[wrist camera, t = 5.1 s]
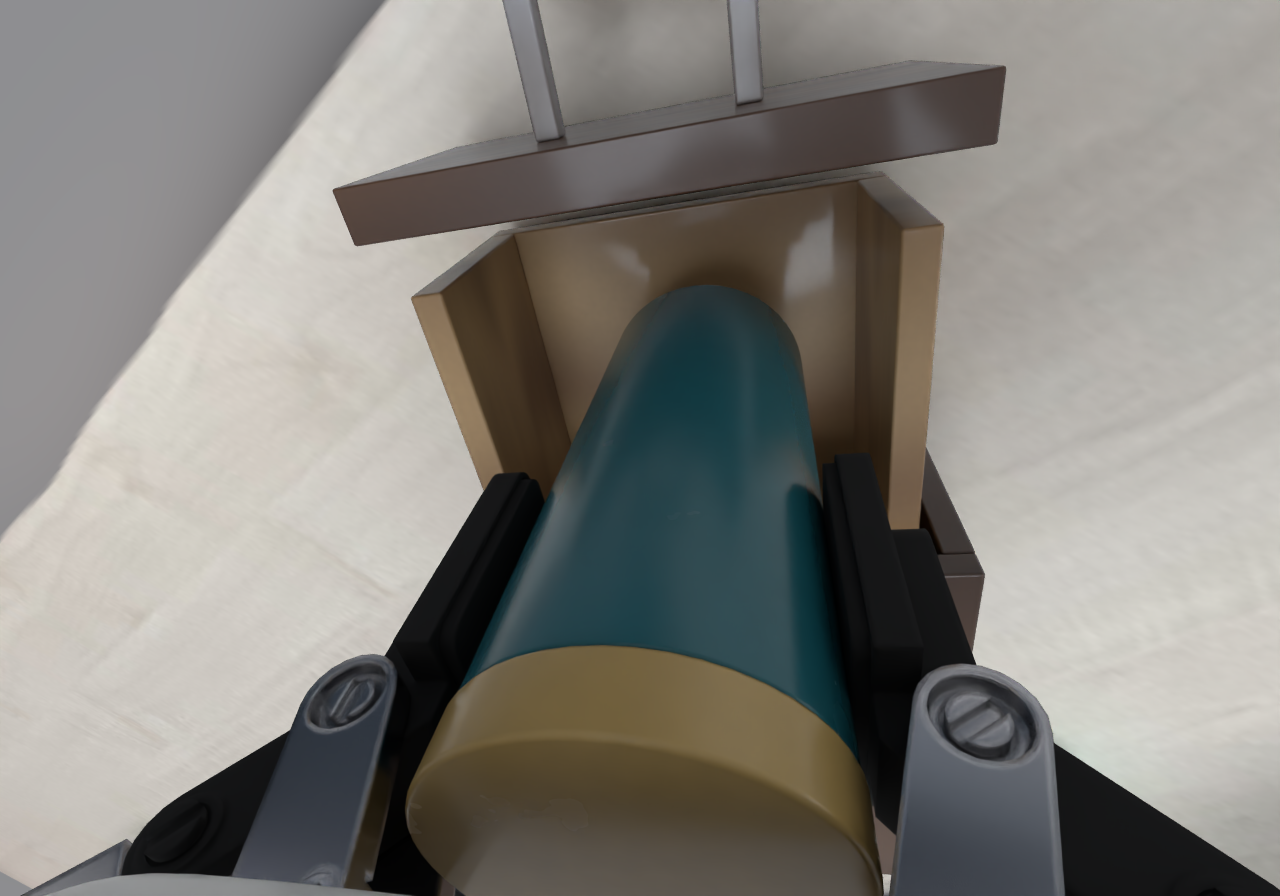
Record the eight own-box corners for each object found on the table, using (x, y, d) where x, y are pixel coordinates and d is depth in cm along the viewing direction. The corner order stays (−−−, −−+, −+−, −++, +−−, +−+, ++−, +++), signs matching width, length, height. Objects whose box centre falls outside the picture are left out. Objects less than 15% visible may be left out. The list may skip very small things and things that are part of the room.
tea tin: (800, 269, 14) (897, 751, 5) (806, 448, 17) (877, 998, 7) (595, 295, 16) (320, 724, 6) (631, 459, 18) (485, 947, 8)
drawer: (404, -26, 16) (226, -66, 11) (922, -161, 14) (1053, -311, 8) (568, 519, 26) (520, 650, 20) (889, 503, 23) (937, 649, 18)
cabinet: (537, 434, 25) (455, 588, 18) (906, 403, 22) (986, 574, 15) (612, 679, 33) (576, 853, 26) (889, 681, 30) (936, 878, 23)
